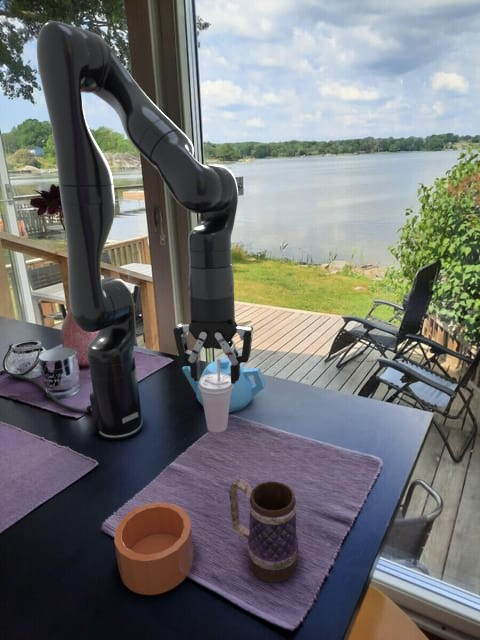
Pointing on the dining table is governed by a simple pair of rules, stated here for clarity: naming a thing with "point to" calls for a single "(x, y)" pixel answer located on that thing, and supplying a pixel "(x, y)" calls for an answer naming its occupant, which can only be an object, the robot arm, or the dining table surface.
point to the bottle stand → (154, 548)
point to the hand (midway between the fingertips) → (215, 380)
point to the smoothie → (216, 399)
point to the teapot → (241, 388)
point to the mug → (268, 528)
